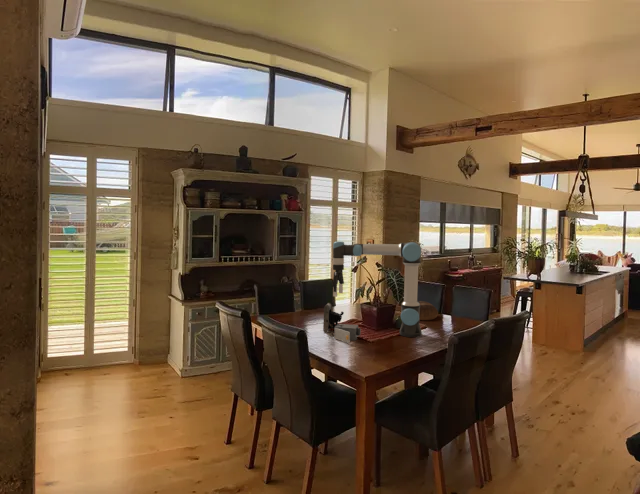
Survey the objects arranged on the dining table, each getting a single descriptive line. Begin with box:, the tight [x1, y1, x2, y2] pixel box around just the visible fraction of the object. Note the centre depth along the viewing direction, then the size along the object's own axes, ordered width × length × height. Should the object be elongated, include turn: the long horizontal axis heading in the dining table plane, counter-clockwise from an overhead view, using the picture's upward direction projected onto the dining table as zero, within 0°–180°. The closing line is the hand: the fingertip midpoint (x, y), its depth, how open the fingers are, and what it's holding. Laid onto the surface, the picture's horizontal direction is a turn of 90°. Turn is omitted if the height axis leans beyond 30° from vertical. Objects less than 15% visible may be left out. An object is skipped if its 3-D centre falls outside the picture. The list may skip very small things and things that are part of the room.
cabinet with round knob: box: [335, 323, 362, 341], centre depth 286 cm, size 16×9×9 cm, turn 75°
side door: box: [333, 328, 351, 344], centre depth 278 cm, size 14×2×7 cm, turn 40°
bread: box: [417, 300, 439, 321], centre depth 349 cm, size 26×27×13 cm
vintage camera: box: [322, 302, 344, 334], centre depth 301 cm, size 10×16×20 cm, turn 78°
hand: (338, 294), depth 294 cm, fingers open, 13 cm apart
